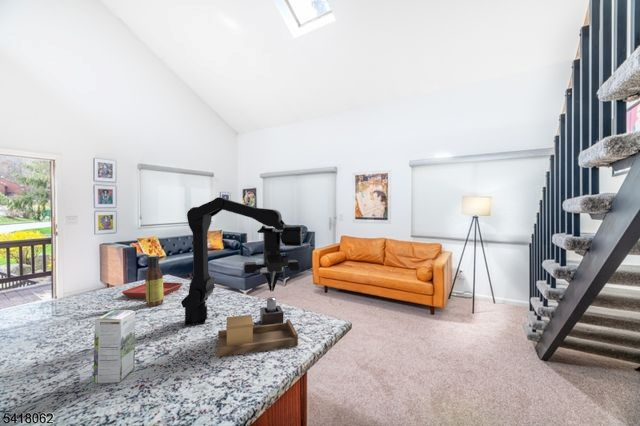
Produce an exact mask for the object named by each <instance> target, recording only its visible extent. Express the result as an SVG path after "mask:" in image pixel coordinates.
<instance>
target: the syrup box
mask: <svg viewBox="0 0 640 426" xmlns="http://www.w3.org/2000/svg"><path fill="white" fill-rule="evenodd" d="M93 335H94V339H93V340H94V341H93V347H94V348H93V382H92V383H93V384H111V383H113V384H114V383H121V382H122V381H123V380H125V378H126V377H127V376H129V374H130V373H131V372H132V371H133V370H135V363H136V362H135V357H136V356H135V354H136V350H135V349H136V311H135V310H129V309H119V310H117V309H115V310H110V311H109V312H108V313H105V314H103V315H101V316H99V317H97V318H96V319H94V334H93Z"/></svg>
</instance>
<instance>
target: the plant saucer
mask: <svg viewBox="0 0 640 426" xmlns="http://www.w3.org/2000/svg"><path fill="white" fill-rule="evenodd" d="M183 284H184V283H183V282H166V281H163V294H164V297H165V296H168V295H169V293H170V294H171V292H172V293H174V292H175V291H178V290H179V289H180V288H181V287H182V286H183ZM173 291H174V292H173ZM121 293H122V295H124V296H125V297H127V298H129V297H135V299H137V298H138V299H146V288H145V283H142V284H139V285H136V286H134V287H131V288H128V289H125V290H122V291H121Z"/></svg>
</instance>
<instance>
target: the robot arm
mask: <svg viewBox="0 0 640 426" xmlns="http://www.w3.org/2000/svg"><path fill="white" fill-rule="evenodd" d="M221 211H226V212H229V213H234V214H236V215H240V216H244V217H247V218H251V219H253V220H255V221H257V222H258V223H261V224H262V226H261V227H260V229H258V230H257V234H263V261H262V262H263V263H257V262H256V261H245V262H243V265H242V267H243V274H255V273H256V272H257V271H259V273H260V274H261V275H262V276H264V277H265V279H266V280H265V281H266V282H267V286H268V289H269V292H271V293H272V292H274V290H275V287H276V286H277V282H278V279H279V277H280V276H281V275H282V274H284V273H285V271H284V269H289V270H290V271H292V272H294V271H301V264H300V262H299V261H298V260H296V259H289V255H282V254H281V244H283V245H284V246H285V247H303V246H302V245H303V235H302V233H303V232H302V226H287V225H286V223H285V222H284V220H283V219H282V218H283V217H282V214H281V211H279V210H277V209H273V208H272V209H270V208H260V207H255V206H252V205H248V204H246V203H241V202H237V201H234V200H230V199H227V198H225V197H215V198H214V199H213V200H211V201H208V202H205V203H203V204H201V205H199V206H193V207H191V208H190V209H188V210H187V214H186V219H187V224H188V227H189V229H190V231H191V234H192V257H193V259H192V261H193V266H192V267H193V269H192V272H193V275H192V277H191V280H190V282H189V283H190V284H189V287H188V294H187V295H186V296H185V297H184V298H183V299H182V300H180V303H181V305H182V306H181V307H182V308H184V322H183V323H184V324H183V326H194V325H202V324H205V323H206V320H207V319H208V305H207V304H206V301H207V300H208V299H209V297H210V295H212V294H213V292H214V289H215V288H216V286H215V277H214V276H211V275H210V274H209V257H208V255H209V254H208V253H209V250H208V247H209V246H208V244H209V242H208V232H209V229H210V227H211V223H212V218H213V217H214V216H216V215H217V214H219V213H221ZM275 229H276V230H275ZM271 273H272V278H271Z"/></svg>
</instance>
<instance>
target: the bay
mask: <svg viewBox="0 0 640 426" xmlns="http://www.w3.org/2000/svg"><path fill="white" fill-rule="evenodd" d="M217 334H218V335H217V347H216V358H219V357H225V356H226V357H227V356H234V355H239V354H245V353H254V352H260V351H265V350H267V351H268V350H273V349H280V348H287V347H288V348H289V347H293V346H298V345H299V335H298V333H297V331H296V329H295V327H294V325H293V323H292V321H291V319H290V318H289V319H286V322H283V323H279V324H270V325H262V326H261V325H253V343H247V344H240V345H233V346H227V330H226V329H221V330H220V329H219V330H218V331H217Z"/></svg>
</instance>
